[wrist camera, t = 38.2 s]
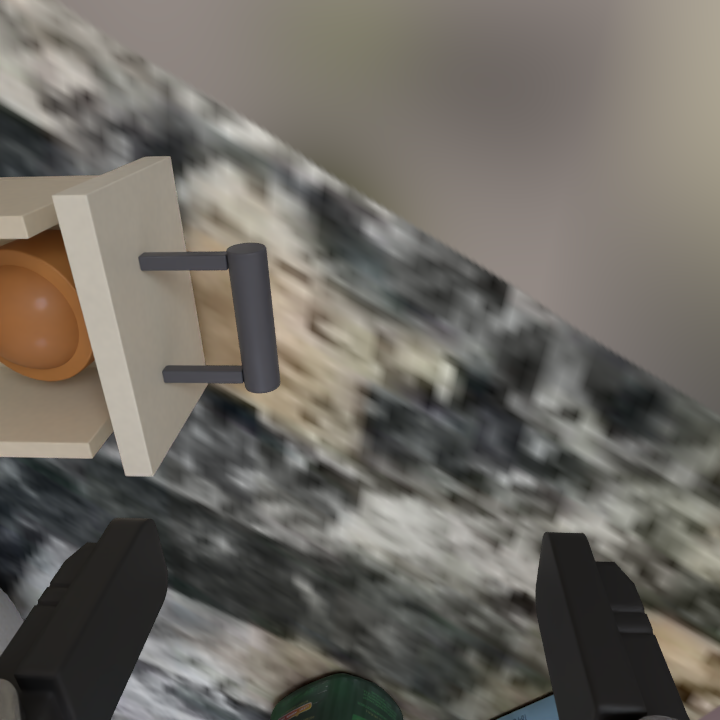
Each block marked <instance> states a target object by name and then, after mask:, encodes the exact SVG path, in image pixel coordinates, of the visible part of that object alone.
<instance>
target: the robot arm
mask: <svg viewBox="0 0 720 720" xmlns="http://www.w3.org/2000/svg"><path fill="white" fill-rule="evenodd" d="M167 587H168V570H167V566H166V562H165V558H164V554H163V550H162V546H161V543H160V539H159V535H158V531H157V527H156V524H155V522H154V521H153V520H152V519H139V518H115V519H113V520H112V521H111V522H110V524H109V525H108V527H107V528H106V530H105V531H104V533H103V535H102V536H101V538H100V539H99V541H98V542H97V543H86V544H85V545H84V546H82V547H81V548H80V549H79V550H78V551H76V552H75V553H74V554H73V555H72V556H70V557H69V558H68V559H67V560H66V561H65V562H64V563H63V565H62V566H61V568H60V569H59V571H58V572H57V573H56V575H55V576H54V578H53V579H52V581H51V582H50V587H47V588H46V590H45V591H44V593H43V594H42V596H41V597H40V599H39V600H38V604H37V605H35V606H34V607H33V609H32V610H31V612H30V613H29V615H28V616H27V618H26V619H25V621H24V622H23V624H22V625H21V626H20V628H19V629H18V631H17V632H16V634H15V635H14V637H13V638H12V640H11V641H10V643H9V644H8V646H7V647H6V649H5V650H4V652H3V653H2V654H1V656H0V720H111V717H112V715H113V713H114V711H115V708H116V706H117V704H118V702H119V700H120V697H121V695H122V693H123V691H124V689H125V686H126V684H127V682H128V680H129V678H130V675H131V673H132V671H133V669H134V666H135V664H136V662H137V660H138V658H139V655H140V653H141V651H142V649H143V647H144V644H145V642H146V640H147V638H148V636H149V633H150V631H151V629H152V627H153V624H154V622H155V620H156V618H157V616H158V613H159V611H160V609H161V607H162V605H163V602H164V600H165V596H166V593H167ZM536 611H537V618H538V623H539V628H540V632H541V637H542V642H543V646H544V651H545V656H546V661H547V665H548V670H549V675H550V679H551V684H552V689H553V694H554V698H555V703H556V708H557V712H558V717H559V720H690V719H689V717H688V715H687V713H686V711H685V708H684V706H683V703H682V701H681V698H680V696H679V693H678V691H677V688H676V686H675V683H674V681H673V678H672V676H671V674H670V671H669V669H668V666H667V664H666V661H665V659H664V656H663V654H662V651H661V649H660V646H659V644H658V641H657V639H656V637H655V635H653V629H652V627H651V624H650V622H649V619H648V617H647V614H645V613H644V607H643V604H642V602H641V599H640V597H639V595H638V592H637V590H636V587H635V585H634V583H633V582H632V581H631V580H630V579H629V578H628V577H627V576H626V574H625V573H624V572H623V571H622V570H621V569H620V568H619V567H618V566H617V565H616V563H615V562H595V560H594V557H593V554H592V551H591V548H590V545H589V542H588V540H587V537H586V536H585V534H583V533H554V532H545V533H544V535H543V539H542V546H541V553H540V561H539V568H538V575H537V582H536Z"/></svg>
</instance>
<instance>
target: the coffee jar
mask: <svg viewBox="0 0 720 720" xmlns="http://www.w3.org/2000/svg"><path fill="white" fill-rule="evenodd" d="M270 720H403V715H402V713H401V710H400V708H399V707H398V705H397V704H396V703H395V701H394V700H393V699H392V698H391V697H390V696H389V695H388V694H387V693H386V692H385V691H384V690H383V689H382V688H380V687H379V686H377V685H376V684H374V683H373V682H370V681H367V680H365V679H362V678H360V677H356V676H352V675H349V674H345V673H340V674H334V675H330V676H327V677H325V678H322V679H319V680H317V681H315V682H312V683H310V684H308V685H306V686H303V687H301V688H300V689H298V690H296V691H294V692H293V693H291V694H290V695H288V696H287V697H285V698H284V699H282V700H281V701H280V702H279V703H278V704H277V705H276V706H275V708H274V709H273V711H272V714H271V719H270Z"/></svg>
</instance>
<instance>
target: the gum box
mask: <svg viewBox="0 0 720 720" xmlns="http://www.w3.org/2000/svg"><path fill="white" fill-rule="evenodd" d="M496 720H559V717H558V712H557V708H556V703H555V698H554V694H553V695H551V696H549V697H546V698H544V699H542V700H540V701H537V702H535V703H533V704H531V705H528V706H526V707H523V708H521V709H519V710H517V711H514V712H512V713H510V714H507V715H505V716H503V717H501V718H498V719H496Z"/></svg>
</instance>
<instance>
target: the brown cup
mask: <svg viewBox="0 0 720 720" xmlns="http://www.w3.org/2000/svg"><path fill="white" fill-rule="evenodd" d="M93 361H95V358H94V355H93V351H92V347H91V343H90V340H89V336H88V332H87V328H86V324H85V321H84V317H83V313H82V309H81V306H80V302H79V298H78V294H77V290H76V287H75V283H74V279H73V275H72V271H71V268H70V264H69V260H68V256H67V253H66V249H65V245H64V241H63V237H62V234H61V230H54V229H49V230H45V231H43V232H41V233H39V234H37V235H35V236H33V237H31V238H29V239H17V240H14V241H12V242H9V243H7V244H5V245H2V246H0V362H1V363H3V364H4V365H5V366H7V367H9V368H10V369H12V370H13V371H15V372H17V373H19V374H21V375H24V376H27V377H29V378H33V379H37V380H42V381H60V380H65V379H68V378H71V377H73V376H75V375H77V374H78V373H79V372H81V371H82V370H83V369H85V368H86V367H87V366H88V365H90V364H91V363H92V362H93Z"/></svg>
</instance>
